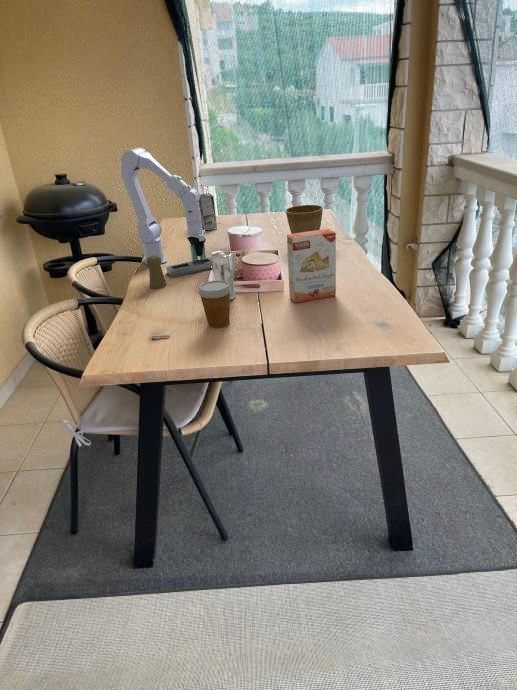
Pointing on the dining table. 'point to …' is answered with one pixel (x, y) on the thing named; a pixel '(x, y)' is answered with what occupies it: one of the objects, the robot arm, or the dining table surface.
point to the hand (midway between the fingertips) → (198, 254)
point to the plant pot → (304, 218)
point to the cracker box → (312, 265)
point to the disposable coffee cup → (216, 302)
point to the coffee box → (207, 211)
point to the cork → (156, 272)
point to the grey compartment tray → (189, 267)
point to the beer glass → (224, 268)
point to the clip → (193, 253)
